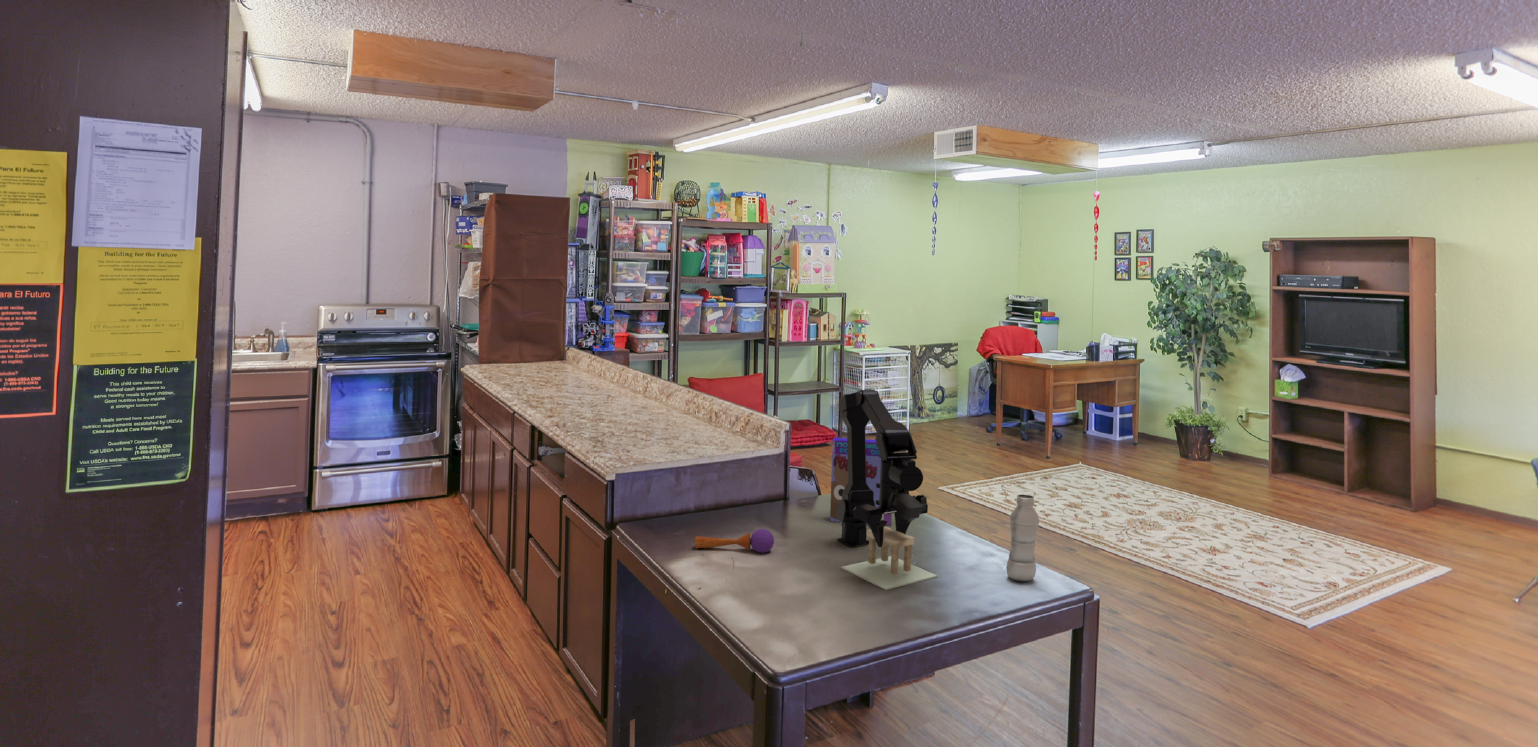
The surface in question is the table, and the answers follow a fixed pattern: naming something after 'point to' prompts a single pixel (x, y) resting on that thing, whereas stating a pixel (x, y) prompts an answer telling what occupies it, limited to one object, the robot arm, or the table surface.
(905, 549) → the beige wooden bench
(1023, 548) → the plastic bottle
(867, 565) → the mat
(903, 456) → the robot arm
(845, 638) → the table surface
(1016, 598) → the table surface
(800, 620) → the table surface
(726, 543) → the kendama
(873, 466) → the cereal box
